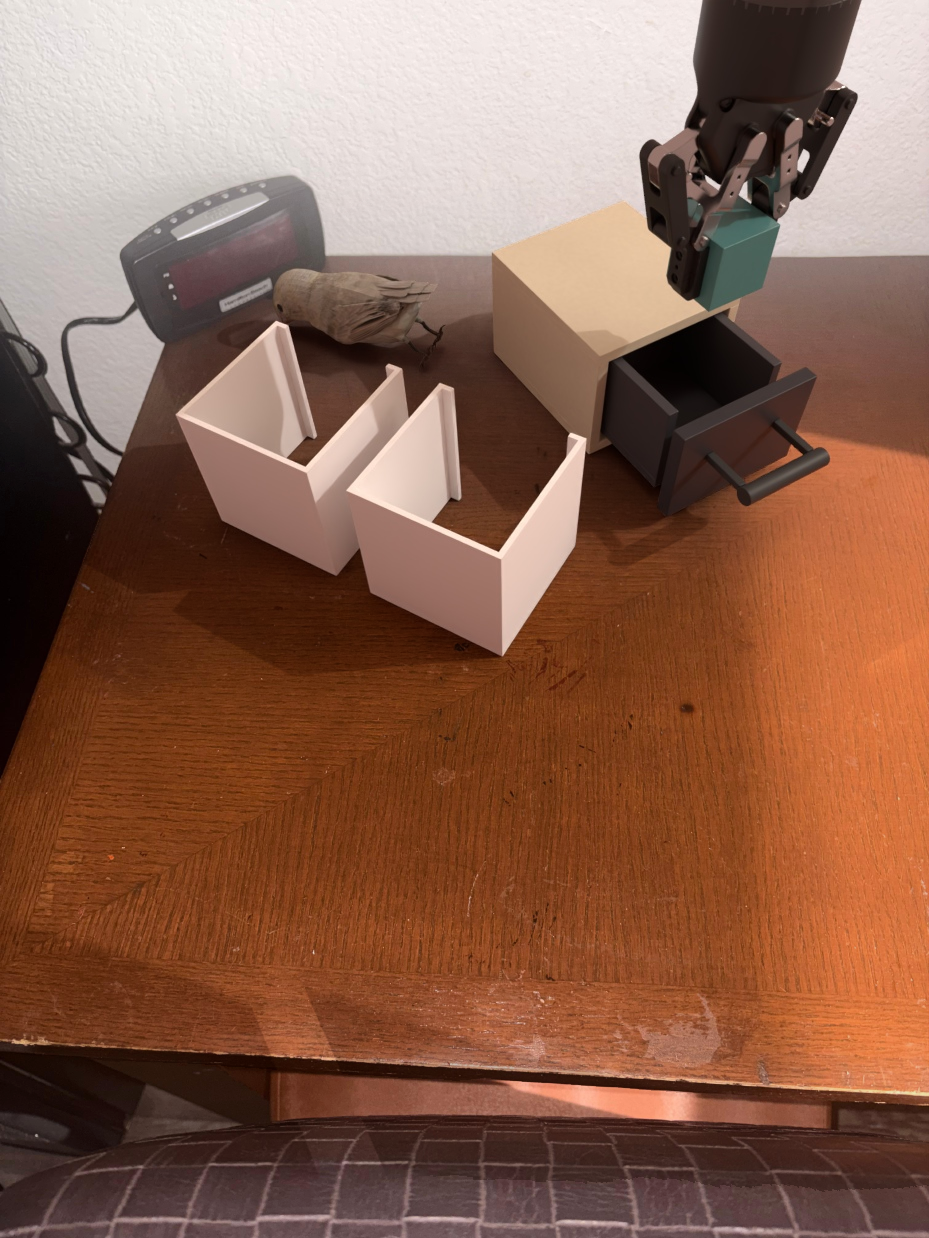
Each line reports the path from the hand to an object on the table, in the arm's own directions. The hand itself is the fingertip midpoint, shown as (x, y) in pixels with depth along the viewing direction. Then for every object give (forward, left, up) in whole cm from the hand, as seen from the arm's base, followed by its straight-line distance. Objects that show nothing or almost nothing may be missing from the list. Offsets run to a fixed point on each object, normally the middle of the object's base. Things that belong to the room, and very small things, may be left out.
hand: (715, 278), depth 55 cm
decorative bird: (+30, +5, -16) cm, 34 cm away
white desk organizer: (+13, +20, -16) cm, 28 cm away
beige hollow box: (+10, -4, -15) cm, 19 cm away
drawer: (-1, 0, -14) cm, 15 cm away
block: (0, 0, 0) cm, 0 cm away
